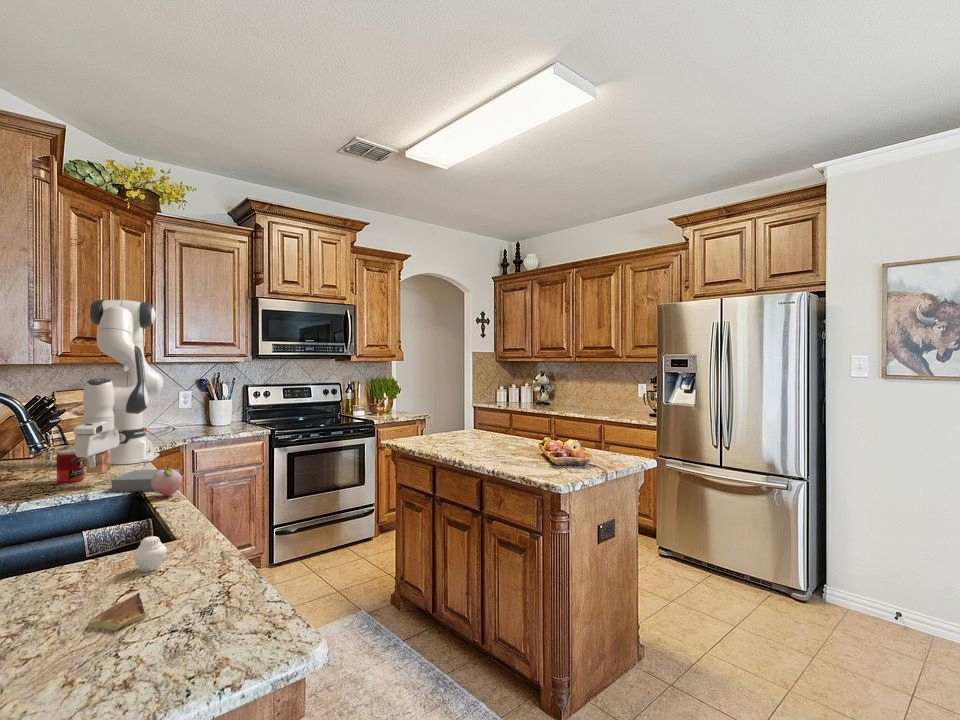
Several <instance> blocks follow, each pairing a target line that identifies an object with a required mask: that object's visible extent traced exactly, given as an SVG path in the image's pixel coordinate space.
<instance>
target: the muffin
mask: <svg viewBox="0 0 960 720" xmlns="http://www.w3.org/2000/svg"><path fill="white" fill-rule="evenodd" d="M167 552H168V548H167V547H166V545H164V544H163V543H162V541H161V539H160V537H158V536H154V535H151V536H147V537H144V538H142V540H140V545H139V546H138V548H136V549H135V550H134V552H133V554H132V557H133V559H134V562H135V564H136V565H137V567H138V568H139V569H140V571H141V572H143V573H144V572H152V571H155V570H158V569H159V568H160V566H161V564H162V563H163V561H164V559H165V557H166V554H167Z"/></svg>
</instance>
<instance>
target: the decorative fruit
mask: <svg viewBox="0 0 960 720" xmlns="http://www.w3.org/2000/svg"><path fill="white" fill-rule="evenodd" d="M160 470H161V471H158V472H157V473H156V474H155V475H154V476H153V478H152V481H151V485H152V488H153V489H154V490H155V491H154V492H156V493H158V494H160V495H163V496H166V498H167V497H169V496H172V495H174V494H175V493H176V492H177V491H178V490H179V488H180V487H181V485H182V483H183V477H182V474H180V471H179V472H177V471H175V470H173V468H172V467H169V465H167V466H166V467H164V468H163V469H160Z"/></svg>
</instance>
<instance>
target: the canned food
mask: <svg viewBox="0 0 960 720" xmlns="http://www.w3.org/2000/svg"><path fill="white" fill-rule="evenodd" d="M84 478H85V457H77V456H76V455H75V448H73V449H62V450H59V451H57V452H56V483H58V484H60V483H68V484H75V483H76V484H77V483H80V482H83V480H84Z"/></svg>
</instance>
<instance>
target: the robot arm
mask: <svg viewBox="0 0 960 720" xmlns="http://www.w3.org/2000/svg"><path fill="white" fill-rule="evenodd" d="M90 304H91V305H90V307H89V308H88V316H89V319H90V321H91V323H93V324H94V325H96V326H98V328H97V334H96V346H97V347H98V349H99V350H100V351H101V353H103V354H105V355H106V356H108V357H110V358H112V359H113V360H115V361H116V362H118V363H120V364H122V365H124V366H127V367H128V368H129V370H109V371H102V372H97V373H96V374H94V375H93V376H92V378H91V379H89V380H87V381H86V382H85V383H84V386H83V387H84V389H83V394H82V395H83V396H82V407H83V415H82V421H81V422H80V423H79V424H77V425H76V427H74V428H73V434H74V435H75V436H74V446H73V447H74V449H75V455H76V456H77V457H84V458H86V457H87V460H88V462H89V467H90V468H94V467H96V466H97V462H96V461H95V457H96V454H98V453H111V462H110V465H129V464H137V463H145V462H152V461H153V460H155V459H156V458H158V457H159V456H160V453H159V452H154V443H153V442H152V441H151V440H149V438H148V437H147V436H146V433H147V432H148V431H149V428H148V427H144V411H145V410H146V409H147V408H149V403H150V399H149V398H150V397H149V396H153V395H158V394H159V393H160V392H161V391H162V390H163V387H164V384H165V382H164V379H163V376H162V375H161V374H160V373H159V372H158V371H156V370H154V369H153V368H152V367H151V366H150V364H149V363H148V362H147V359H146V357H145V349H144V348H145V346H144V330H145V329H146V328H150V327H151V326H152V325H154V323H155V320H156V316H157V314H156V310H155V309H154V308H155V306H154V305H152V304H151V303H149V302H145V301H137V300H129V299H107V300H105V299H98V300H97V299H96V300H94V301H93V302H91V303H90Z"/></svg>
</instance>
